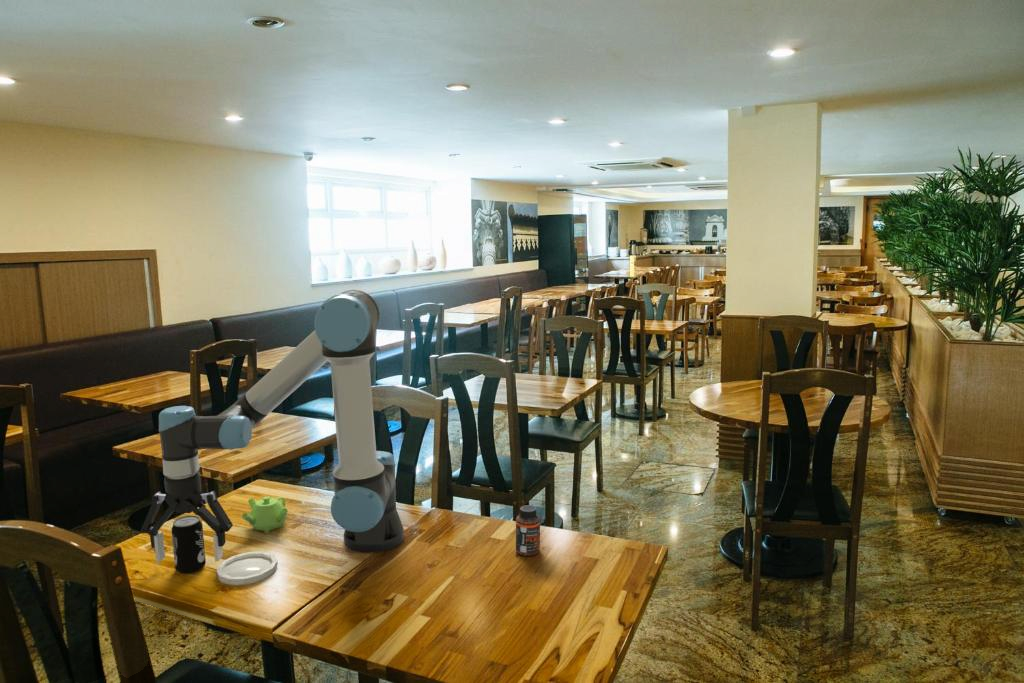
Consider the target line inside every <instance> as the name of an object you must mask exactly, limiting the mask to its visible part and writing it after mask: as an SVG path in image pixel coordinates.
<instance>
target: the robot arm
mask: <svg viewBox="0 0 1024 683" xmlns="http://www.w3.org/2000/svg"><path fill="white" fill-rule="evenodd" d="M380 314H381V313H380V308H379V305H378V303H377V301H376V300H375V299H374V297H373V296H371V295H370V294H369V293H367V292H365V291H363V290H360V289H359V290H358V289H350V290H345V291H343V292H340V293H339V294H335V295H333V296H331V297H330V298H327V299H326V300H325V301H324V302H323V303H322V304H321V306H320V307H319V308H318V309H317V312H316V314H315V317H314V322H313V324H314V330H313V331H312V332H311V333H310V334H309V335H308V336H306V337H305V339H303V340H302V341H301V342H299V344H298V345H297V346H296V347H295V348H294V349H292V350H291V351H290V352H289V353H288V354H286V356H284V358H282V359H281V360H280V361H279V362H278V363H277V364H276V365H275V366H274V367H273V368H271V370H269V371H268V372H267V373H266V374H265V375H263V377H261V379H260V380H258V382H256V383H255V384H254V385H253V386H252V387H251V388H250V389H248V390H247V391H246V392H245V393H244V394H243V395H242V396H241V397H240V398H238V399H237V400H236V401H235V402H234V403H232V405H230V406H229V407H228V408H226V409H225V410H223V411H222V412H220V413H219V414H217V415H210V416H206V415H205V416H204V415H203V416H201V415H196V413H195V412H196V411H195V409H194V407H192V406H187V405H178V406H177V405H176V406H171V407H167V408H164V409H163V410H161V411H160V412H159V414H158V432H159V438H160V446H161V448H160V449H161V458H162V471H163V472H162V474H163V475H164V478H163V481H164V482H163V483H164V491H165V493H162V492H161V491H157V492H156V493H155V494H154V495H152V496H151V505H150V508H149V510H148V513H147V515H146V517H145V519H144V522H143V523H142V527H141V529H140V533H141V534H147V535H149V540H150V547H151V548H152V549H154V551H155V562H156V563H161V562H162V561H163V560H164V559H165V558H166V552H165V543H164V541H165V540H164V533H163V531H161V528H162V527H163V526H164V524H166V522H167V521H168V520H169V518H170V517H171V515H172V514H174V512H175V513H176V514H182V513H184V514H191V513H193V514H194V516H198V517H199V518H200V520H202V521H203V522H204V523H205V524H206V525H207V526H208V527H209V528H210V529H211V530H212V531H214V533H213V535H212V538H213V550H214V560H215V562H219V561H220V560H221V559H222V558H223V556H224V554H223V547H224V545H225V544H226V533H227V532H230V530H231V529H232V528H233V522H232V520H231V519H230V517H229V516H228V514H227V513H226V512H225V509H224V508H223V506H222V505H221V503H220V501H219V500H218V497H217V491H215V490H211V491H210V492H206V493H203V491H202V482H201V480H202V479H201V472H200V460H199V450H236V449H237V450H238V449H244V448H247V447H248V445H250V441H251V440H252V437H253V436H252V434H253V429H254V428H256V427H257V426H258V425H260V423H261V422H262V421H263V420H264V419H265V418H266V417H267V416H268V415H269V414H270V413H271V412H273V410H274V409H276V408H277V407H278V406H280V404H282V403H283V401H284V400H286V399H287V398H288V397H290V395H291V394H292V393H294V392H295V391H297V389H298V388H299V387H301V385H303V383H304V382H306V381H307V380H308V379H309V378H310V377H311V376H313V375H314V374H315V373H316V372H318V370H320V368H322V367H323V366H324V365H325V364H326V363H327V362H328V363H329V364H330V376H331V386H332V398H333V412H334V422H335V434H336V444H337V455H338V456H337V458H338V459H337V460H338V465H337V466H336V467H335V468H334V469H333V471H332V477H333V490H334V491H333V492H334V496H332V498H331V503H330V514H331V516H332V519H333V521H334V522H335V523H336V524H337V525H338V526H340V527H341V528H342V529H344V532H343V544H344V546H345V547H346V548H347V549H348V550H350V551H352V552H357V553H361V554H373V553H374V554H375V553H376V554H377V553H380V552H381V553H382V552H386V551H389V550H392V549H394V548H396V547H398V546H399V545H401V544H402V542H403V541H404V539H405V529H404V524H403V523H402V520H401V517H400V515H399V512H398V509H397V497H396V496H397V495H396V494H397V491H396V473H395V469H396V468H395V466H396V463H395V457H394V455H393V454H392V453H391V452H388V451H382V450H377V444H376V432H375V417H374V407H373V403H374V402H373V393H372V390H373V389H372V379H371V378H372V377H371V366H370V361H371V359H372V357H373V356H374V355H375V353H376V341H375V339H376V338H375V330H376V329H377V327H378V324H379V321H380ZM203 500H204V501H205V503H206V504H207V505H208V508H209V509H210V510H211V511H210V510H209V509H208V508H207V506H206V504H204V503H203V502H202V501H203ZM164 502H165V503H166V504H167V506H168V507H167V509H166V510H165V511H164V513H163V514H162V515H161V517H159V519H158V521H157V522H156V523H155V524H154V525H153V523H154V521H155V519H156V516H157V514H158V512H159V510H160V507H161V505H162V503H164ZM152 525H153V526H152Z"/></svg>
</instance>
